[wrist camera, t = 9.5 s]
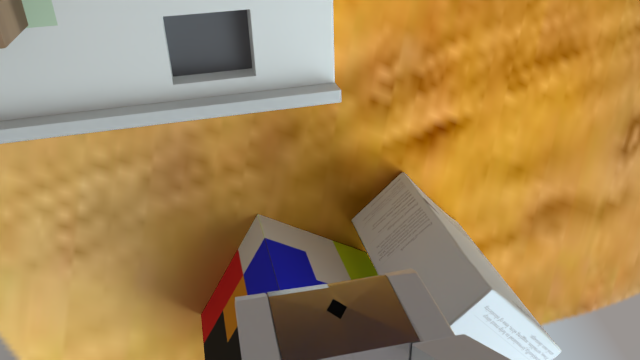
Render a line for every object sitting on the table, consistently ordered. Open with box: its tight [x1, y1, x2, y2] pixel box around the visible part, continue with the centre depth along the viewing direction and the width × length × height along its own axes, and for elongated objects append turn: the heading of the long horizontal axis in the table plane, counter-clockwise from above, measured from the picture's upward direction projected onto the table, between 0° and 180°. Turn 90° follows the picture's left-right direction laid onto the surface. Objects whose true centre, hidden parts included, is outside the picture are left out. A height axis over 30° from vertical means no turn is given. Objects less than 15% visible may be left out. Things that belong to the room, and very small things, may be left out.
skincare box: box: [352, 172, 561, 360], centre depth 38 cm, size 8×6×15 cm
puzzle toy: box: [201, 214, 378, 360], centre depth 40 cm, size 10×10×10 cm
